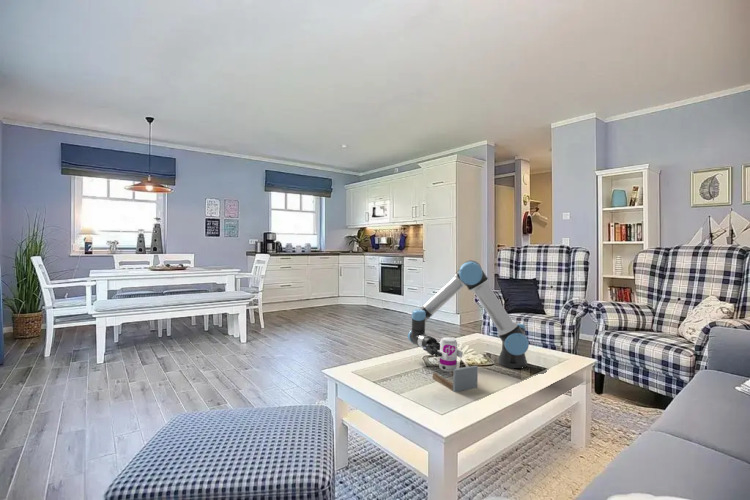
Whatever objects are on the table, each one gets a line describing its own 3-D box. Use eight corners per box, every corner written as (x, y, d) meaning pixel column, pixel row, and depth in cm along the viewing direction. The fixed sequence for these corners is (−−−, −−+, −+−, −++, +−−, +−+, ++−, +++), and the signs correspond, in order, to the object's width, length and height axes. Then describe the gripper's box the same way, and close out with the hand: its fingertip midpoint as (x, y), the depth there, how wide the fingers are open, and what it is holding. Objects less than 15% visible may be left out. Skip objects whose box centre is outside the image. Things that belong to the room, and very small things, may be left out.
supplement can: (456, 372, 183) (457, 341, 182) (438, 371, 185) (440, 340, 184) (456, 367, 191) (457, 337, 190) (439, 365, 193) (440, 336, 192)
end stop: (475, 386, 180) (475, 365, 179) (477, 387, 179) (477, 366, 178) (452, 390, 174) (453, 369, 174) (454, 392, 173) (455, 370, 172)
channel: (453, 374, 194) (454, 369, 194) (475, 386, 180) (475, 381, 180) (432, 378, 189) (432, 373, 188) (452, 390, 174) (452, 385, 174)
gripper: (443, 347, 208) (471, 360, 188) (410, 352, 199) (435, 366, 179) (444, 334, 208) (471, 345, 188) (411, 337, 199) (436, 350, 178)
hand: (454, 355), depth 183 cm, fingers closed on supplement can, 8 cm apart
